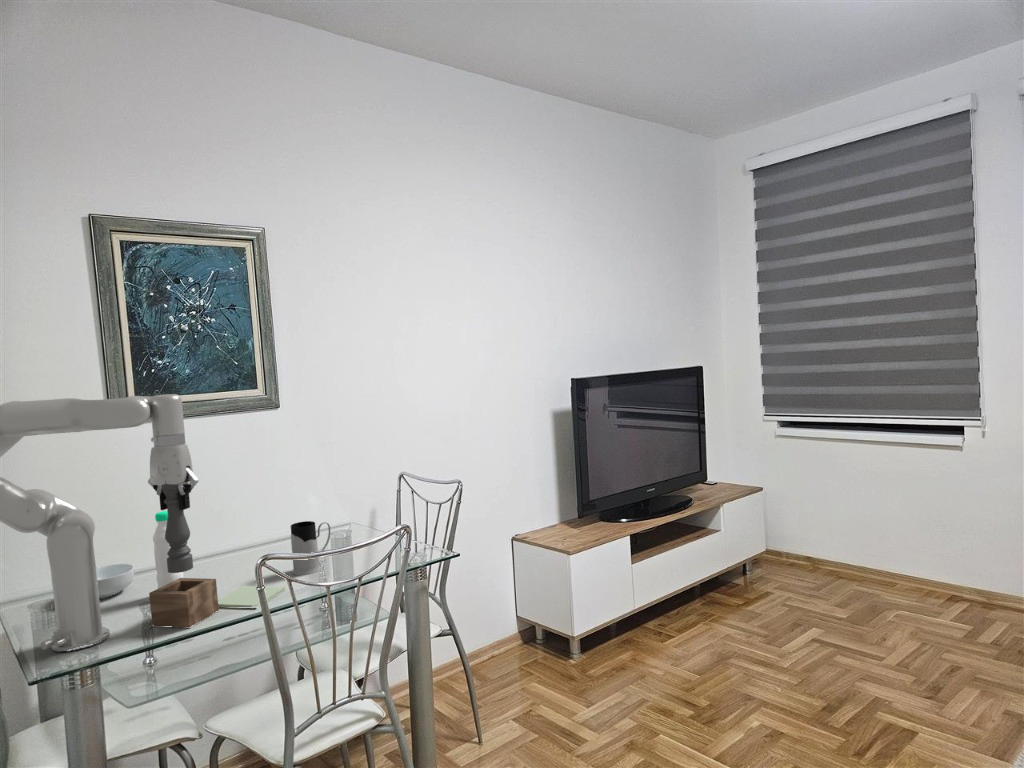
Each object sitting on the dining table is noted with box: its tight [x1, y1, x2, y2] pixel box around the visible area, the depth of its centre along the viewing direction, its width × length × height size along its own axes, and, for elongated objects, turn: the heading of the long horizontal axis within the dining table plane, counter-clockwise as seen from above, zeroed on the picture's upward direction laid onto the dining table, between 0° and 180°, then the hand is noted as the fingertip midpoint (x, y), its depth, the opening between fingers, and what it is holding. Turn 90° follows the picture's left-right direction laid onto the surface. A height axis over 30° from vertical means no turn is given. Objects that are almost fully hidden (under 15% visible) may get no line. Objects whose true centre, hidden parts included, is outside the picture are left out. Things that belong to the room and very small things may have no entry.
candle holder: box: [161, 482, 194, 573], centre depth 185 cm, size 6×6×25 cm
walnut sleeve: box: [148, 577, 220, 628], centre depth 187 cm, size 12×12×9 cm
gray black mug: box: [290, 520, 331, 576], centre depth 224 cm, size 9×14×15 cm, turn 140°
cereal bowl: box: [96, 563, 135, 599], centre depth 211 cm, size 17×17×7 cm
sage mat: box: [218, 585, 286, 607], centre depth 199 cm, size 14×14×1 cm
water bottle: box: [152, 510, 184, 589], centre depth 206 cm, size 7×7×25 cm
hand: (175, 508), depth 185 cm, fingers closed on candle holder, 5 cm apart
